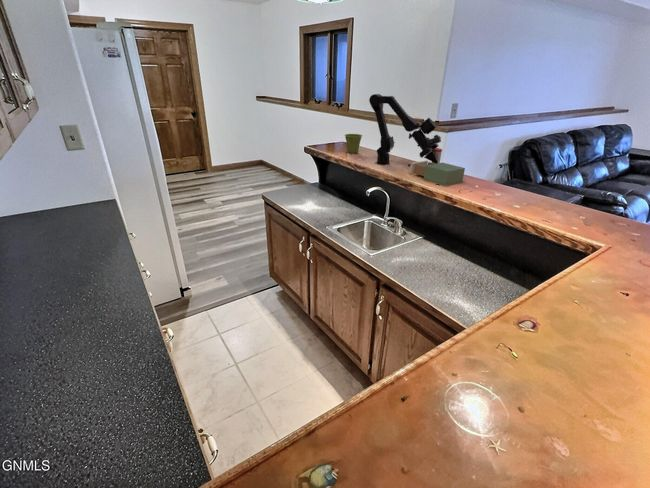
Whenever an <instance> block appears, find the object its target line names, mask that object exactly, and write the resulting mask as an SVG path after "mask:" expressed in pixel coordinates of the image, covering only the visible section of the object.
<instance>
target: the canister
mask: <svg viewBox="0 0 650 488" xmlns="http://www.w3.org/2000/svg"><path fill="white" fill-rule="evenodd" d="M433 150H434V156H435V158H436V160H437V162H438V163H441V158H442V152H443V149H442V148H439V147H437V148H434V149H433ZM431 163H434V162H432V161H431Z"/></svg>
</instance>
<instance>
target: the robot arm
mask: <svg viewBox="0 0 650 488" xmlns="http://www.w3.org/2000/svg"><path fill="white" fill-rule="evenodd" d="M368 102H369V104H370V106H371V108H372V110H373V111H374V114H375V119H376V122H377V125H378V130H379V134H380V147H378V148H377V149H376V154H377V155H376V156H377V158H376V161H375V162H374V163H375V164H376V165H377V164H378V165H381V166H382V165H383V166H386V165H389V164H390V153H391V151H392V150H393V149H394V147H395V143H396V142H395V140H394V136H391V135H390V133H389V130H388V126H387V122H386V121H387V120H386V118H385V112H384V104H388V106H389V107H390V108H391V109H392V111H393V112H394V113H395V114H396V115H397V117H398V118H399V120H400V121H401V125H402V126H403V128H404V130H405V131H406V132H409V134H408V140H410V139H412V138H413V140H414V142H415V143H416V144H417V147H419V148H420V149H421V151H420V152H419V154H418V156H419V157H420V158H421V159H422V158H423V159H426V160H427V161H429V162H431V163H432V162H434V163H435V164H437V163H438V162H437V160H436V158H435V156H434V150H433V149H434V148H439V143H441V142H442V137H441V136H440V135H439V134H435V135H434V136H433V137H432V138H430V137H427V136H426V135H430V134H431V133H432V132H434V130H435V129H437V128H438V126H437V124H436V122H435V121H434V120H433V119H431V118H430V117H427V118H426V119H425V121H423V122H422V123H420V122H417V120H416V119H415V118H413V117H412V116H411V115H409V114H408V113H407V112H406V111H405V109H404V108H403V107H402V105H401V104H400V103H399V102H398V101H397V99H396V98H395V96H393V95H382V94H380V93H376V94H375V93H374V94H371V95H370V96H369V99H368Z"/></svg>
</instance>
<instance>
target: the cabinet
mask: <svg viewBox="0 0 650 488" xmlns="http://www.w3.org/2000/svg"><path fill="white" fill-rule="evenodd" d="M465 170H466V167H462V166H458V165H454V164H450V163H446V162H440V163H437V164H432V165H428V164H427V165H426V166H425V172H424V176H423V181H427V182H431V183H434V184H438V185H440V186H444V187H446V186H451V185H456V184H460V183H463V180H464V175H465Z"/></svg>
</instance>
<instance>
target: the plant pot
mask: <svg viewBox="0 0 650 488" xmlns="http://www.w3.org/2000/svg"><path fill="white" fill-rule="evenodd" d="M344 137H345V138H344V139H345V142H346V143H345V144H346V152H347V153H349V154H357V153H359V149H360V145H361V140H362V137H363V134H359V133H345V134H344Z"/></svg>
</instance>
